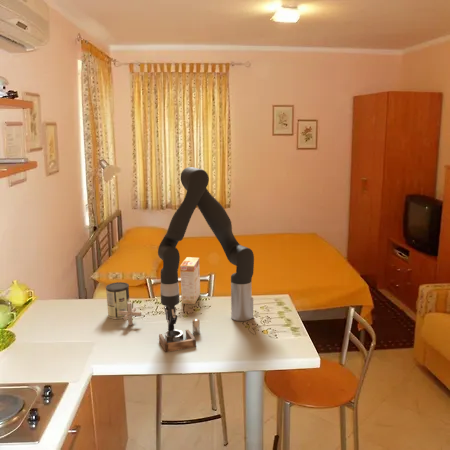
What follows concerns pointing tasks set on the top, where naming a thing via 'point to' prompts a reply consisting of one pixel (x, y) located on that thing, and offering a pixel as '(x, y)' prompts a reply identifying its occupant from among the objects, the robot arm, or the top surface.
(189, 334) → the groove block
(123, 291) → the coffee can
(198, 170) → the robot arm
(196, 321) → the beige rounded cylinder
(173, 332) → the metal ring
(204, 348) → the top surface
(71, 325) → the top surface
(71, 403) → the top surface
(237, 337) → the top surface
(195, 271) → the coffeecake box
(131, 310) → the pipe connector
